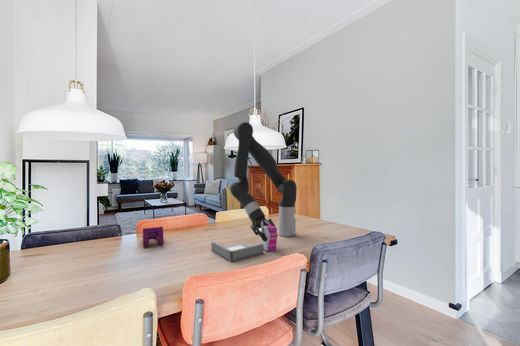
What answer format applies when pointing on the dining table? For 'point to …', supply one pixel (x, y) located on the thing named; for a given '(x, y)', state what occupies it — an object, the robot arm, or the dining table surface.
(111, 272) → the dining table surface
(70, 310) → the dining table surface
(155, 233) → the mounting bracket
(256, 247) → the corner tray
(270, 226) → the supplement box
